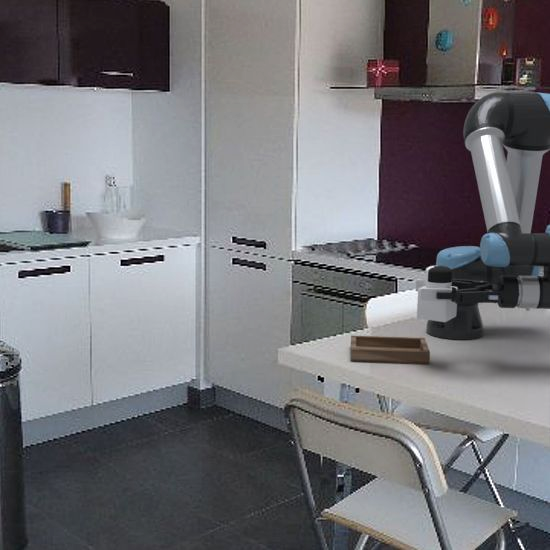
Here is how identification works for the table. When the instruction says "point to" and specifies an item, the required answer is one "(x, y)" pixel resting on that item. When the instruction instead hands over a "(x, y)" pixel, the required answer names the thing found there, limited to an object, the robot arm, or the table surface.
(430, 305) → the medicine bottle
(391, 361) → the walnut tray
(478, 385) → the table surface
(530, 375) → the table surface
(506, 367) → the table surface
